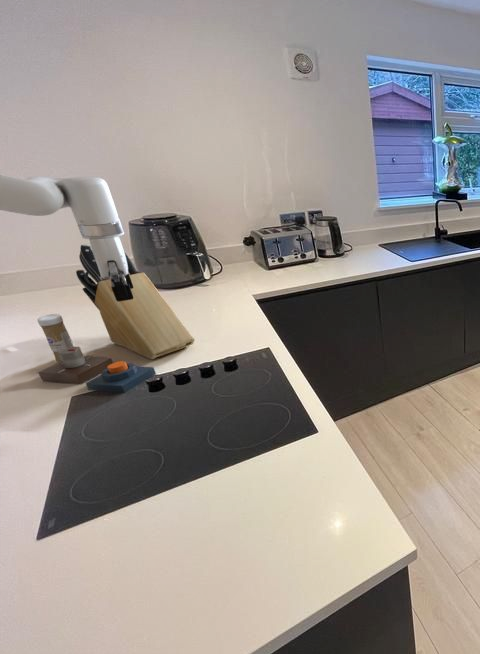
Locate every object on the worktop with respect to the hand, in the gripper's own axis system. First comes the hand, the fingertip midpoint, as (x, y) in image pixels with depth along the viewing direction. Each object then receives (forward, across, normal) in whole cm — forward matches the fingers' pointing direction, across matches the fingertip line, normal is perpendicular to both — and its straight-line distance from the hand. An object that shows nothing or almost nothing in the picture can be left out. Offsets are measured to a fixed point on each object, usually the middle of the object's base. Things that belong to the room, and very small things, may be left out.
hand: (125, 294), depth 104 cm
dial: (+20, -9, -15) cm, 26 cm away
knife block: (+23, -21, -1) cm, 31 cm away
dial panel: (+23, -9, -15) cm, 29 cm away
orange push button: (+19, +4, -6) cm, 20 cm away
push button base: (+23, +4, -6) cm, 24 cm away
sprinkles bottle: (+23, -22, -18) cm, 37 cm away
